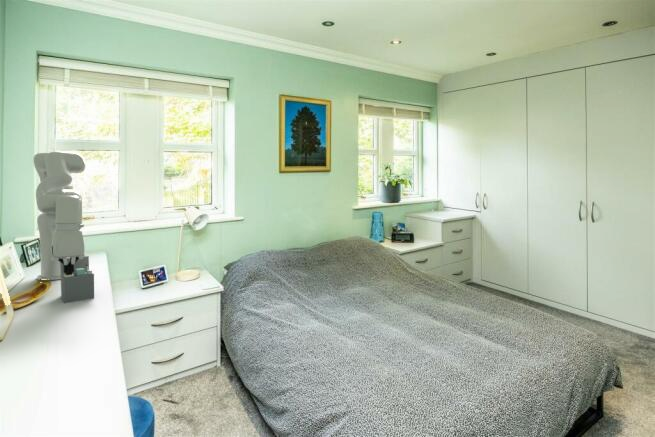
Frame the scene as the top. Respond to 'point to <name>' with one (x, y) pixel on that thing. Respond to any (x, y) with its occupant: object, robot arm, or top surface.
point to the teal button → (79, 271)
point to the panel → (77, 287)
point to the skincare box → (77, 264)
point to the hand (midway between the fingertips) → (68, 274)
